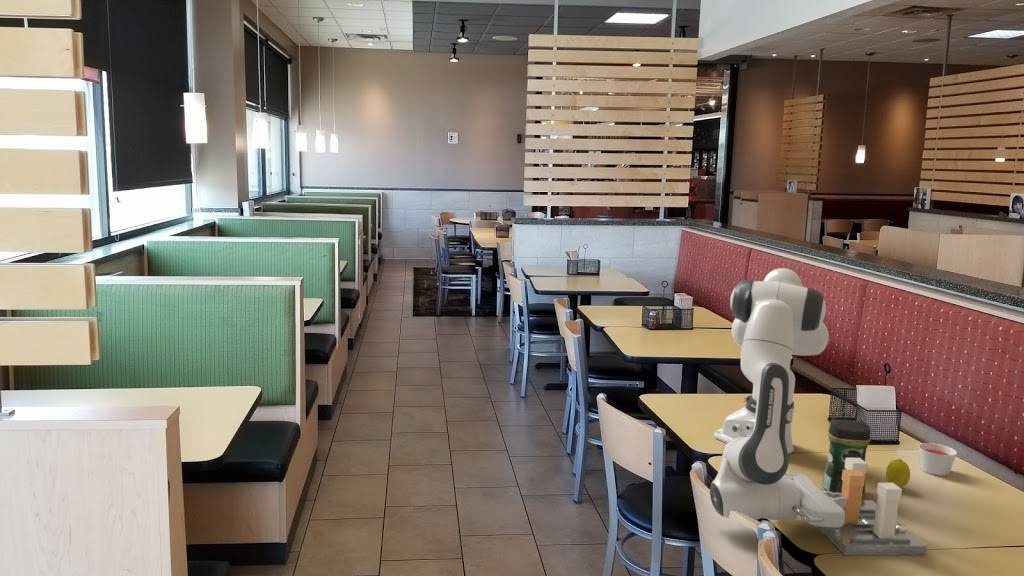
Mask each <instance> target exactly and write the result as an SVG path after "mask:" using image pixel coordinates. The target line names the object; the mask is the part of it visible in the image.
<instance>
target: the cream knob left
mask: <svg viewBox="0 0 1024 576" xmlns="http://www.w3.org/2000/svg"><path fill="white" fill-rule="evenodd" d="M867 467H868V462H866V460H865V461H863V460H862V459H861V458H846V460H845V468H846V470H858V471H860V472H861V473H862V474H864V475H865V476H866V474H867ZM862 491H863V487H862ZM862 497H863V495H861V500H862ZM860 507H861V503H860Z"/></svg>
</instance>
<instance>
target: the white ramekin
mask: <svg viewBox="0 0 1024 576" xmlns="http://www.w3.org/2000/svg"><path fill="white" fill-rule="evenodd" d="M918 450H919V452H918V453H919V465H920V469H921V471H923V472H925V474H926V473H927V474H929V475H933V476H938V477H942V476H943V477H944V476H948V475H949V474H950V473H951V469H952V467H953V464H954V461H955V459H956V457H957V456H956V455H957V450H955V449H954V448H952V447H950V446H947V445H944V444H939V443H935V442H933V443H932V442H923V443H922V442H921V443H920V444H919V445H918Z"/></svg>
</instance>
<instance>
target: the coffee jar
mask: <svg viewBox="0 0 1024 576" xmlns="http://www.w3.org/2000/svg"><path fill="white" fill-rule="evenodd" d="M827 432H828V433H827V436H828V439H829V449H828V450H829V451H828V456H827V461H826V464H825V469H824V473H823V480H822V486H823V488H824V489H823V490H826V491H829V492H833V493H841V492H842V483H843V480H842V472H843V470H846V468H845V460H846V458H861V459H862V460H863V461H865V462H866V453H867V449H868V446H869V445H870V443H871V429H870V425H869V424H868V423H867V422H865V421H864V420H862V421H861V420H853V419H852V420H849V419H837V418H836V419H835V418H832V419H831V420H830V424H829V428H828V431H827ZM865 491H866V481H865V482H864V486H863V491H862V496H864V494H865V493H866V492H865Z"/></svg>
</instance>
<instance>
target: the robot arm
mask: <svg viewBox="0 0 1024 576" xmlns="http://www.w3.org/2000/svg"><path fill="white" fill-rule="evenodd" d="M729 301H730V302H729V303H730V304H729V305H730V309H731V314H732V315H733V317H734V320H733V322H732V324H731V335H732V338H733V341H734V342H735V344H736V345H737V346H739V347H740V348H741V351H740V370H741V372H742V374H743V375H744V377H746V378H747V380H748V381H750V382H751V383H752V394H751V395H747V396H746V397H744V398H743V401H742V403H746V405H745V406H743V407H742V408H739V409H738V410H736V411H734V412H732V413H730V414H729V415H728V416H726V417H725V419H724V422H723V425H722V427H721V428H718V429H717V430H716V431H715V432H714V434H713V438H714V439H717V440H719V441H721V442H724V443H725V445H724V446H723V449H722V452H721V463H720V466H719V468H718V472H717V474H716V476H715V478H714V480H712V482H711V484H710V486H709V496H710V501H711V504H712V506H713V508H714V510H715V512H716V513H717V514H718V515H720V516H721V517H723V518H725V517H726V519H728V518H727V517H729V515H730V511H737V512H739V513H743V514H745V515H747V516H749V517H750V518H752V519H754V520H753V521H756V520H759V519H765V520H766V519H767V520H770V521H794V520H796V519H797V518H798V516H799V517H800V519H801V520H804V521H805V522H806V523H808V524H809V525H811V526H815V527H817V526H821V527H836V528H839V527H842V526H843V525H844V521H845V511H844V510H843V509H842V508H841V507H840V506H846V505H847V499H846V498H845V497H844V496H843V495H842V494H841V493H833V492H829V491H826V490H825V489H821V488H820V487H819V486H818V485H817V484H816V483H815V482H814V481H812V480H811V479H810V478H809V476H807V475H806V474H803V473H797V472H787V471H788V470H789V469H788V468H789V463H790V462H789V459H790V458H789V454H792V453H793V452H794V450H795V448H794V445H793V437H792V422H793V418H794V412H795V411H794V409H795V408H794V407H795V401H794V392H795V385H796V377H795V374H794V372H793V371H792V370H791V368H790V367H791V361H792V355H795V356H816V355H820V354H821V353H822V352H824V350H825V349H826V348H827V345H828V343H829V340H830V339H829V337H830V336H829V330H828V328H827V325H826V324H825V323H824V322H823V321H824V319H825V317H826V312H827V304H826V300H825V296H824V295H823V293H821V291H820V290H817V289H815V288H812V287H810V286H809V287H805V286H803V282H802V280H801V278H800V276H799V275H798V274H797V272H795V271H794V270H792V269H789V268H786V267H783V268H775V269H773V270H771V271H769V273H767V275H766V276H764V279H763V280H762V281H761V280H756V281H755V280H754V279H742V280H740V281H739V282H737V283H736V285H735V287H734V288H733V290H732V292H731V295H730V299H729Z"/></svg>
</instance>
